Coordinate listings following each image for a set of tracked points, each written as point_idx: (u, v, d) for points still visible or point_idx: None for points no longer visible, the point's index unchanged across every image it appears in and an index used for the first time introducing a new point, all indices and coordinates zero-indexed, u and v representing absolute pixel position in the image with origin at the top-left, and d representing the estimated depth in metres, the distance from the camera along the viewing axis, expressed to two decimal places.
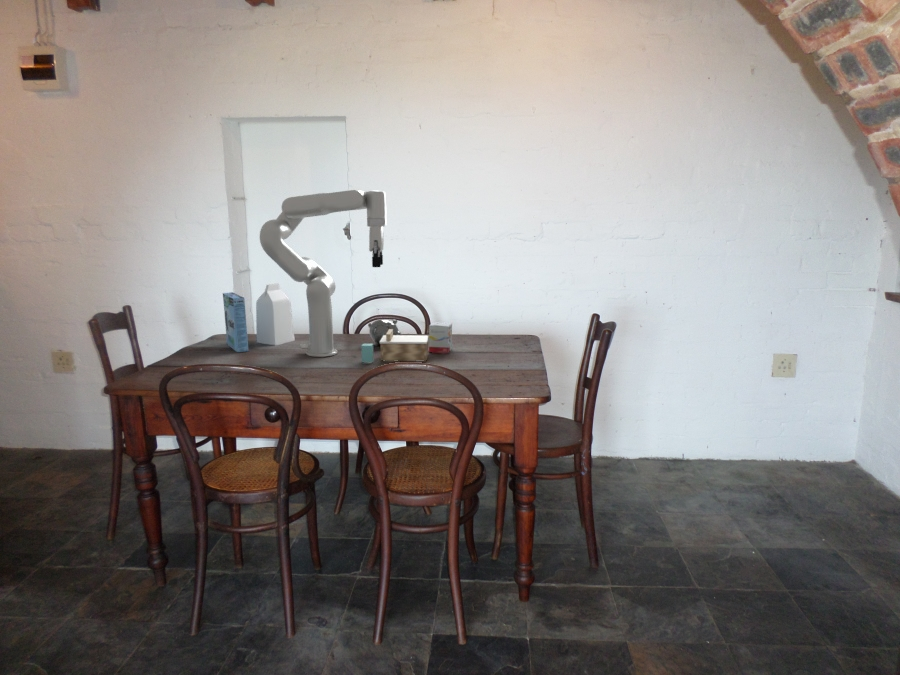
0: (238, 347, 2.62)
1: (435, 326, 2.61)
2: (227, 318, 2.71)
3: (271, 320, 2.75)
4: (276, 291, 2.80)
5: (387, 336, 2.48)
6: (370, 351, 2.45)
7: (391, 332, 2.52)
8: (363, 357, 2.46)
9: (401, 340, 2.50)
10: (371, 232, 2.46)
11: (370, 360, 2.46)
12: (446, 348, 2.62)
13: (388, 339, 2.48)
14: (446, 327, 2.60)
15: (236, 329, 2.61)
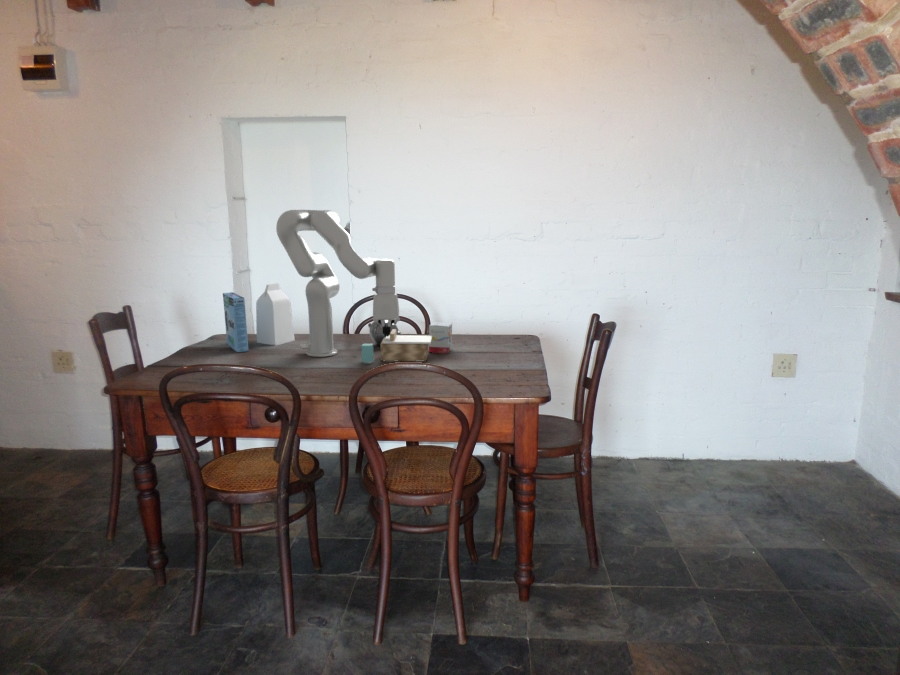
0: (238, 347, 2.62)
1: (435, 326, 2.61)
2: (227, 318, 2.71)
3: (271, 320, 2.75)
4: (276, 291, 2.80)
5: (391, 336, 2.48)
6: (370, 351, 2.45)
7: (395, 332, 2.52)
8: (363, 357, 2.46)
9: (405, 340, 2.50)
10: (397, 300, 2.48)
11: (370, 360, 2.46)
12: (446, 348, 2.62)
13: (392, 339, 2.48)
14: (446, 327, 2.60)
15: (236, 329, 2.61)
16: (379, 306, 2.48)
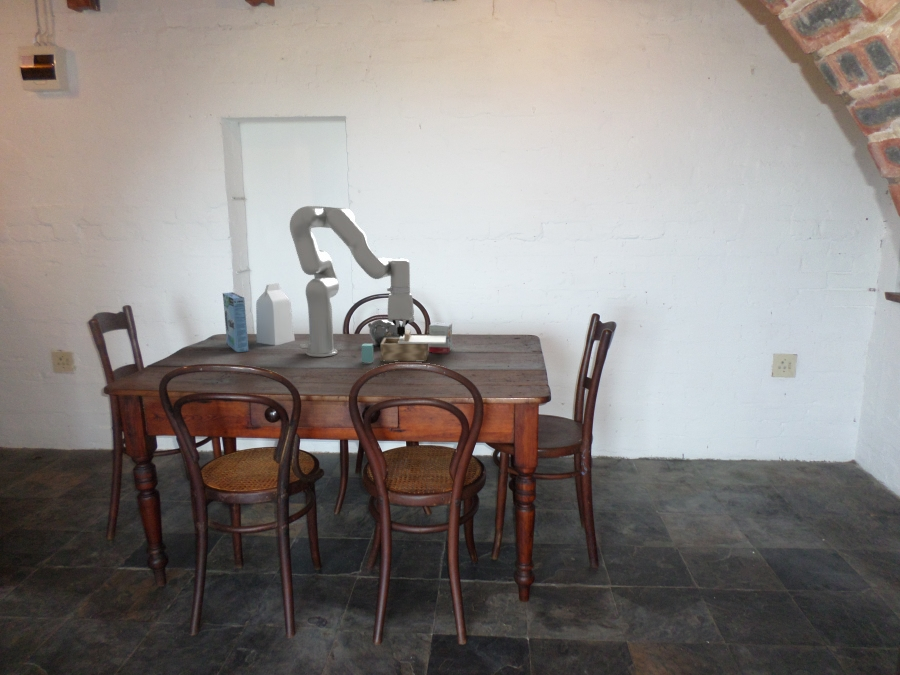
0: (238, 347, 2.62)
1: (435, 326, 2.61)
2: (227, 318, 2.70)
3: (271, 320, 2.75)
4: (276, 291, 2.80)
5: (405, 336, 2.48)
6: (370, 351, 2.45)
7: (409, 332, 2.52)
8: (363, 357, 2.46)
9: (419, 340, 2.49)
10: (412, 300, 2.48)
11: (370, 360, 2.46)
12: (446, 348, 2.62)
13: (406, 339, 2.48)
14: (446, 327, 2.60)
15: (236, 329, 2.61)
16: (394, 306, 2.48)
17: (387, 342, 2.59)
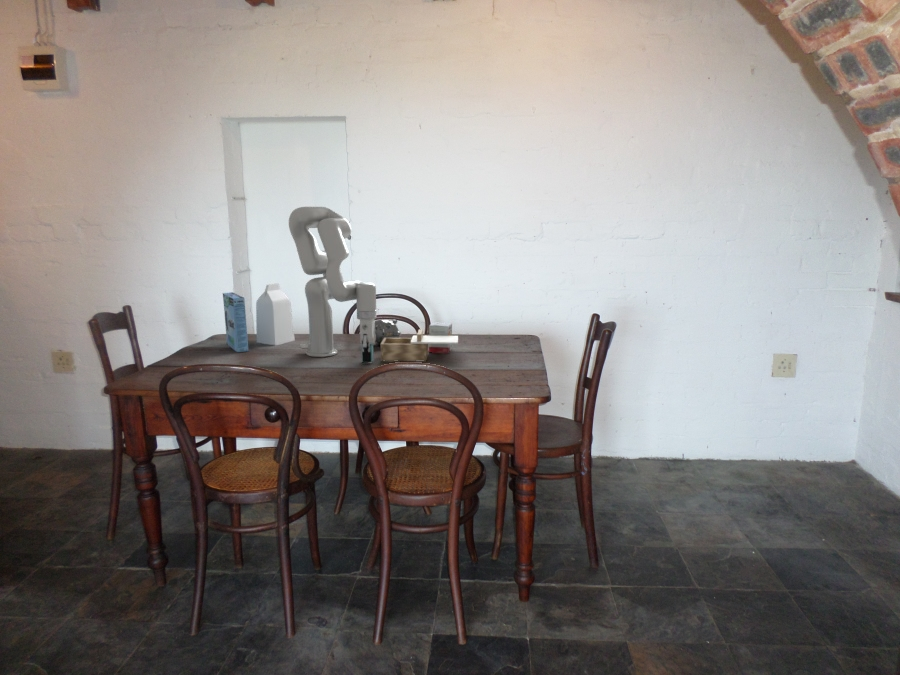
0: (238, 347, 2.62)
1: (435, 326, 2.61)
2: (227, 318, 2.71)
3: (271, 320, 2.75)
4: (276, 291, 2.80)
5: (418, 336, 2.48)
6: (370, 351, 2.45)
7: (421, 332, 2.52)
8: None
9: (432, 340, 2.49)
10: None
11: None
12: (446, 348, 2.62)
13: (419, 339, 2.48)
14: (446, 327, 2.60)
15: (236, 329, 2.61)
16: (373, 330, 2.43)
17: (387, 342, 2.59)
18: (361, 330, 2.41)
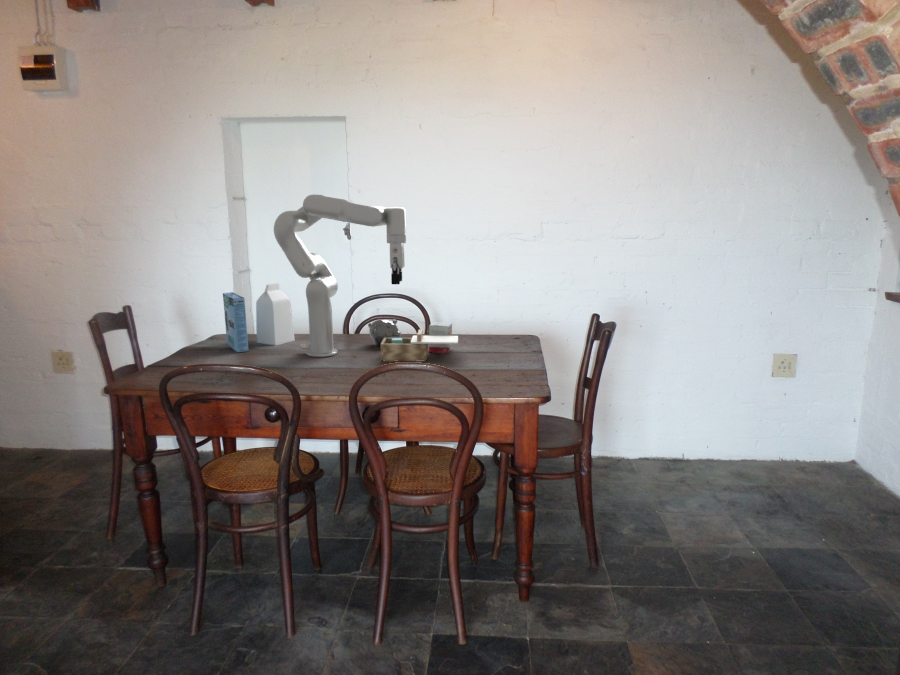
0: (238, 347, 2.62)
1: (435, 326, 2.61)
2: (227, 318, 2.71)
3: (271, 320, 2.75)
4: (276, 291, 2.80)
5: (418, 336, 2.48)
6: None
7: (421, 332, 2.52)
8: None
9: (432, 340, 2.49)
10: None
11: None
12: (446, 348, 2.62)
13: (419, 339, 2.48)
14: (446, 327, 2.60)
15: (236, 329, 2.61)
16: (403, 255, 2.46)
17: (387, 342, 2.59)
18: (391, 253, 2.43)
